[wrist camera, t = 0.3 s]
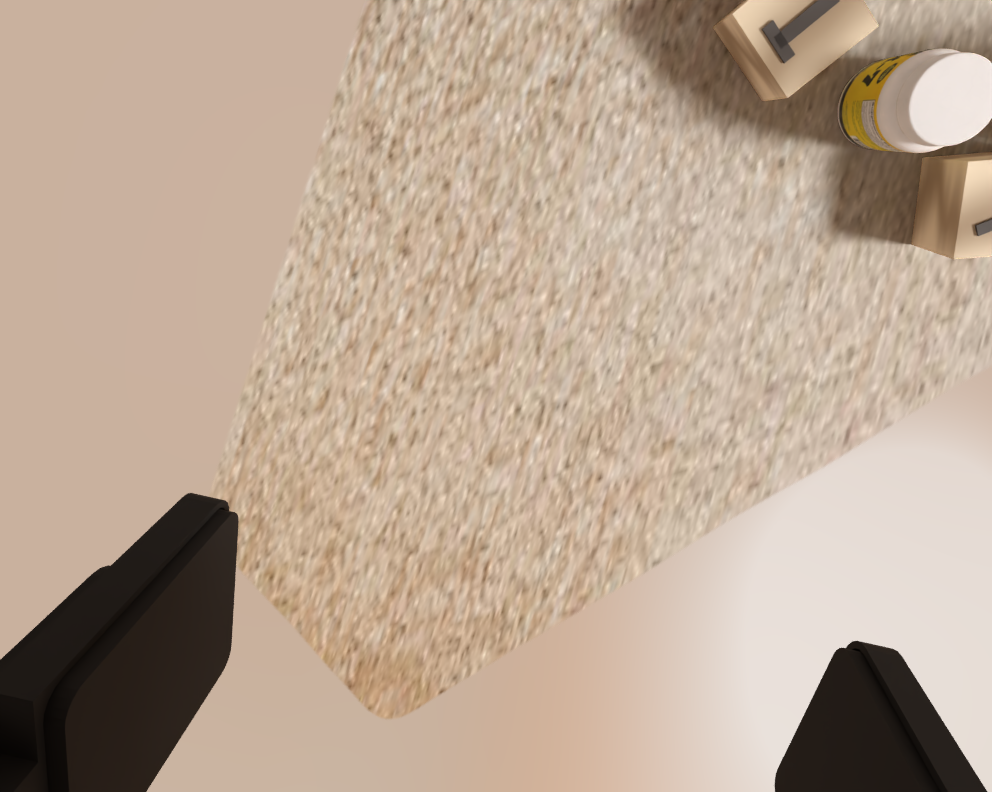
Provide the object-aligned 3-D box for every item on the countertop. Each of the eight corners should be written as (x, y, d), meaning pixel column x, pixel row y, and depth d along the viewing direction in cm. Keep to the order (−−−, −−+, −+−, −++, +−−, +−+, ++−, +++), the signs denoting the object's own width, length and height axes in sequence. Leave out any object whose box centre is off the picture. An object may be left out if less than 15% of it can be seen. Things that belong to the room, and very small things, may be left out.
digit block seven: (921, 157, 40) (970, 161, 35) (1015, 149, 39) (1076, 153, 34) (910, 244, 42) (955, 259, 37) (999, 238, 41) (1056, 252, 36)
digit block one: (712, 27, 38) (733, 13, 34) (791, -41, 37) (825, -66, 32) (761, 101, 40) (788, 98, 35) (841, 38, 38) (880, 25, 33)
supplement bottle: (914, 43, 38) (1004, 22, 30) (932, 128, 39) (1022, 128, 31) (825, 82, 39) (889, 71, 31) (845, 162, 40) (911, 171, 32)
